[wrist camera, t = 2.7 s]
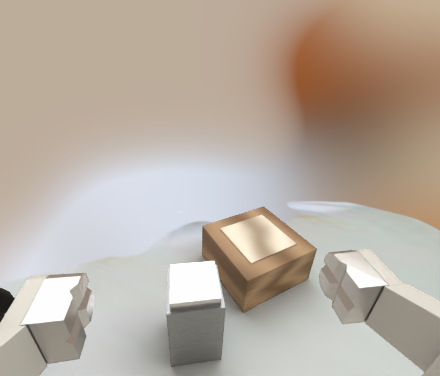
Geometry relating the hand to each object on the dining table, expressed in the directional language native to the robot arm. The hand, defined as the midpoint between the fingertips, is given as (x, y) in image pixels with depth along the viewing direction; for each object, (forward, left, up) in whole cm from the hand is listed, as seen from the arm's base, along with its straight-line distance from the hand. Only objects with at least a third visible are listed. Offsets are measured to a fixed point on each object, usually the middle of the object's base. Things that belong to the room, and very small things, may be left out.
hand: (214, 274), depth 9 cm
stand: (+17, +17, -24) cm, 34 cm away
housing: (+4, +11, -24) cm, 27 cm away
